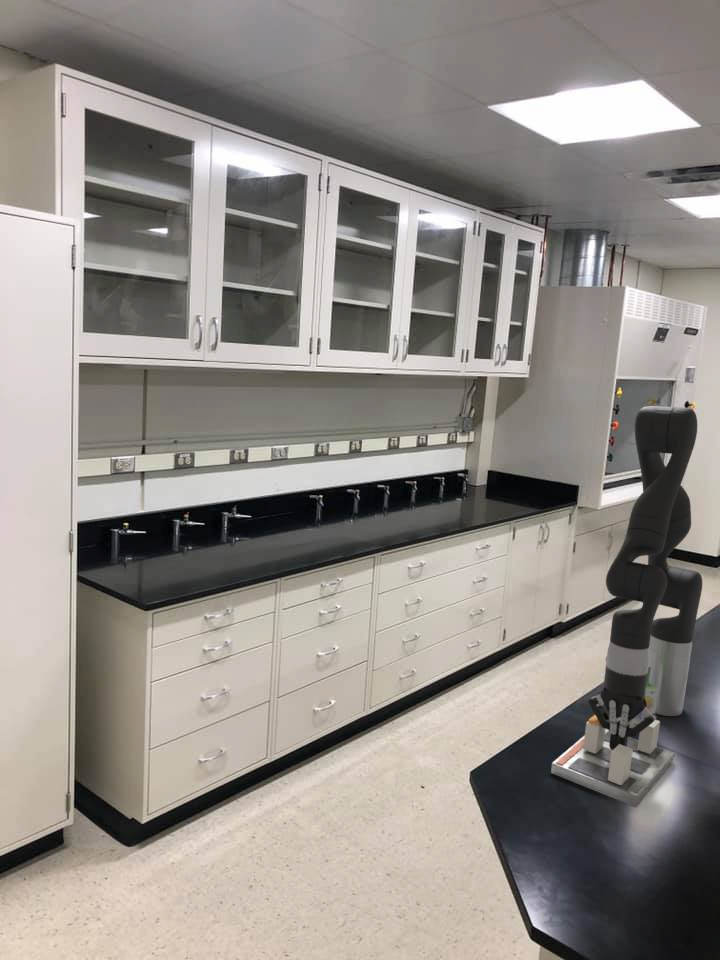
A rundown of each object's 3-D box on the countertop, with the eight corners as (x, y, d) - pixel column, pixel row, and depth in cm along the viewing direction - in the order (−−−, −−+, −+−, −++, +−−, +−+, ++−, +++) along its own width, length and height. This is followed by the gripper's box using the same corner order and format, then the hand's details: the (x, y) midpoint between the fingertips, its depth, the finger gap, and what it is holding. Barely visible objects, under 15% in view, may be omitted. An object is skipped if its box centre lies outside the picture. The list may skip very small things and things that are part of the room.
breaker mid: (590, 742, 153) (594, 713, 152) (603, 746, 151) (606, 717, 150) (583, 749, 149) (586, 719, 149) (595, 753, 148) (599, 724, 147)
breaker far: (643, 742, 154) (647, 717, 153) (656, 747, 153) (660, 721, 152) (637, 749, 151) (640, 723, 150) (650, 754, 149) (653, 727, 149)
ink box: (622, 733, 163) (630, 673, 161) (613, 724, 167) (621, 665, 165) (652, 733, 164) (661, 673, 162) (643, 724, 168) (651, 666, 166)
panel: (595, 734, 161) (596, 724, 161) (673, 762, 152) (674, 752, 151) (550, 772, 144) (552, 762, 144) (636, 807, 134) (637, 795, 134)
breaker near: (615, 772, 142) (619, 744, 141) (629, 777, 140) (632, 748, 139) (607, 780, 138) (611, 751, 138) (621, 785, 137) (625, 756, 136)
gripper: (668, 670, 144) (658, 757, 146) (600, 652, 152) (591, 734, 154) (656, 681, 138) (645, 772, 140) (585, 661, 146) (576, 747, 148)
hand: (617, 752), depth 147 cm, fingers closed
